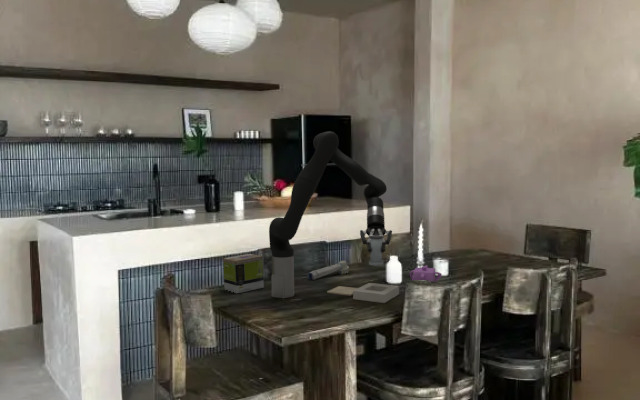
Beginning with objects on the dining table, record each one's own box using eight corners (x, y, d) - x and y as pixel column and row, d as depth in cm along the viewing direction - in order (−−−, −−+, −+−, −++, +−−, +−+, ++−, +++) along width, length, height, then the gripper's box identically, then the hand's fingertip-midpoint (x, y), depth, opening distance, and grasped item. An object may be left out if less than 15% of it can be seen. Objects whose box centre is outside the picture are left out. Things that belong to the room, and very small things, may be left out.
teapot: (412, 283, 277) (412, 261, 276) (443, 285, 273) (443, 263, 272) (407, 293, 260) (407, 269, 259) (440, 294, 256) (440, 271, 255)
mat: (350, 295, 256) (350, 294, 256) (327, 292, 261) (327, 291, 261) (361, 290, 266) (361, 288, 266) (338, 287, 271) (338, 286, 271)
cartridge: (379, 266, 249) (380, 237, 248) (366, 264, 252) (366, 236, 251) (385, 263, 254) (385, 235, 253) (372, 262, 257) (372, 234, 256)
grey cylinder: (305, 271, 288) (342, 257, 304) (307, 285, 289) (344, 270, 305) (313, 273, 284) (350, 258, 300) (314, 286, 285) (351, 271, 301)
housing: (384, 303, 244) (384, 294, 243) (353, 299, 251) (353, 290, 250) (399, 294, 258) (399, 286, 257) (369, 290, 264) (368, 282, 264)
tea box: (251, 284, 278) (250, 252, 277) (264, 288, 271) (263, 255, 270) (223, 290, 269) (222, 257, 267) (236, 294, 261) (235, 260, 260)
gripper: (359, 213, 259) (359, 246, 248) (392, 213, 258) (394, 246, 247) (359, 224, 265) (359, 256, 254) (391, 224, 264) (393, 256, 253)
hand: (376, 251), depth 250 cm, fingers closed on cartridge, 4 cm apart
